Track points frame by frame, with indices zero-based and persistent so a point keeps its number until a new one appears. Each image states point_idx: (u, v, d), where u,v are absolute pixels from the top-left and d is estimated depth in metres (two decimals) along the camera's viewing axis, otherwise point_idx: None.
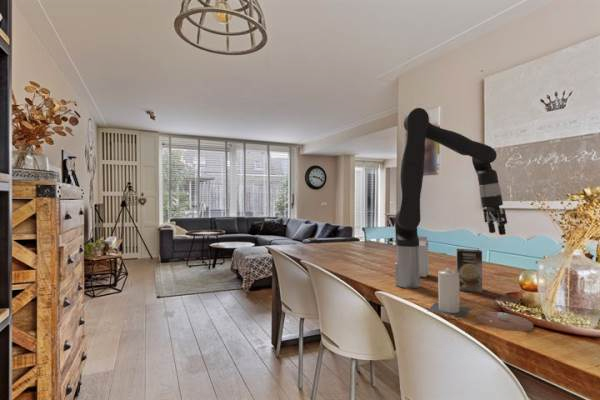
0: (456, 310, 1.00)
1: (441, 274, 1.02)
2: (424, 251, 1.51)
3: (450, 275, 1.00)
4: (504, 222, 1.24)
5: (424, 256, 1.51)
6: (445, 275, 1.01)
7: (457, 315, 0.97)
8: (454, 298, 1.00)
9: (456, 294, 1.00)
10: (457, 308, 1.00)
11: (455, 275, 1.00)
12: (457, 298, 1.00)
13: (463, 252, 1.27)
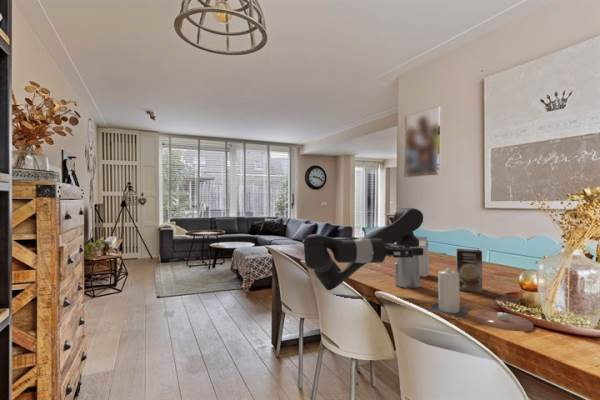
0: (456, 310, 1.00)
1: (441, 274, 1.02)
2: (424, 251, 1.51)
3: (450, 275, 1.00)
4: (411, 252, 0.94)
5: (424, 256, 1.51)
6: (445, 275, 1.01)
7: (457, 315, 0.97)
8: (454, 298, 1.00)
9: (456, 294, 1.00)
10: (457, 308, 1.00)
11: (455, 275, 1.00)
12: (457, 298, 1.00)
13: (463, 252, 1.27)
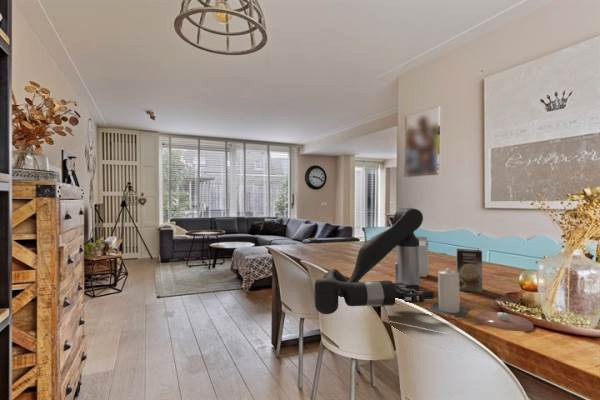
0: (456, 310, 1.00)
1: (441, 274, 1.02)
2: (424, 251, 1.51)
3: (450, 275, 1.00)
4: (422, 297, 0.93)
5: (424, 256, 1.51)
6: (445, 275, 1.01)
7: (457, 315, 0.97)
8: (454, 298, 1.00)
9: (456, 294, 1.00)
10: (457, 308, 1.00)
11: (455, 275, 1.00)
12: (457, 298, 1.00)
13: (463, 252, 1.27)
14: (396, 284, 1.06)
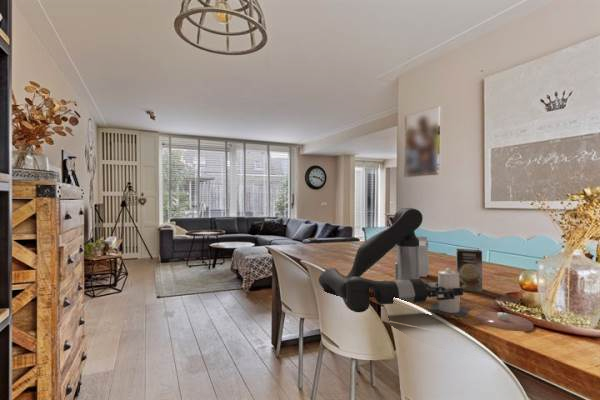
0: (456, 310, 1.00)
1: (441, 274, 1.02)
2: (424, 251, 1.51)
3: (450, 275, 1.00)
4: (453, 293, 0.96)
5: (424, 256, 1.51)
6: (445, 275, 1.01)
7: (457, 315, 0.97)
8: None
9: None
10: (457, 308, 1.00)
11: (455, 275, 1.00)
12: (457, 298, 1.00)
13: (463, 252, 1.27)
14: (426, 282, 1.07)
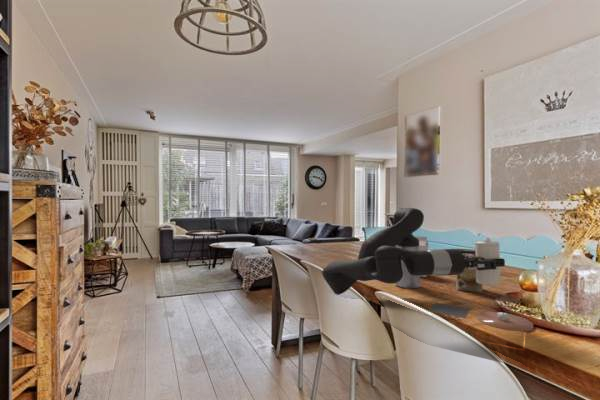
0: (497, 283, 0.91)
1: (479, 244, 0.93)
2: None
3: (490, 244, 0.91)
4: (494, 263, 0.88)
5: None
6: (484, 244, 0.92)
7: (457, 315, 0.97)
8: (494, 269, 0.91)
9: None
10: (498, 280, 0.91)
11: (495, 244, 0.91)
12: (498, 269, 0.91)
13: (463, 252, 1.27)
14: None
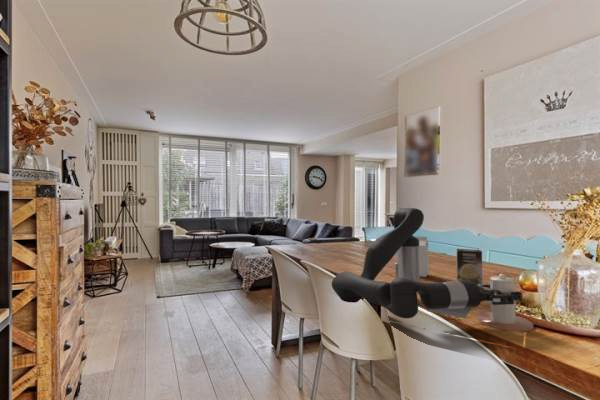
0: (513, 321, 0.89)
1: (495, 280, 0.91)
2: (424, 251, 1.51)
3: (506, 282, 0.89)
4: (512, 298, 0.85)
5: (424, 256, 1.51)
6: (500, 282, 0.90)
7: (457, 315, 0.97)
8: (510, 307, 0.89)
9: None
10: (514, 319, 0.90)
11: (511, 282, 0.90)
12: (514, 307, 0.90)
13: (463, 252, 1.27)
14: None
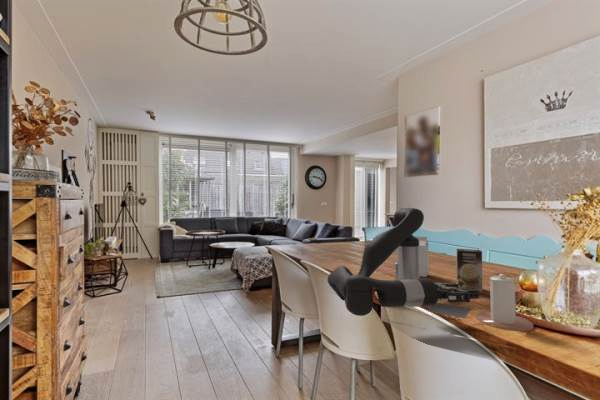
0: (513, 321, 0.89)
1: (495, 280, 0.91)
2: (424, 251, 1.51)
3: (506, 282, 0.89)
4: (468, 296, 0.83)
5: (424, 256, 1.51)
6: (500, 282, 0.90)
7: (457, 315, 0.97)
8: (510, 307, 0.89)
9: (512, 303, 0.90)
10: (514, 319, 0.90)
11: (511, 282, 0.90)
12: (514, 307, 0.90)
13: (463, 252, 1.27)
14: None
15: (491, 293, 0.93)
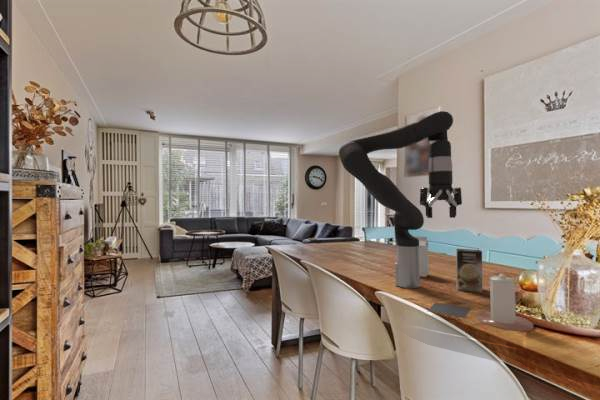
0: (513, 321, 0.89)
1: (495, 280, 0.91)
2: (424, 251, 1.51)
3: (506, 282, 0.89)
4: None
5: (424, 256, 1.51)
6: (500, 282, 0.90)
7: (457, 315, 0.97)
8: (510, 307, 0.89)
9: (512, 303, 0.90)
10: (514, 319, 0.90)
11: (511, 282, 0.90)
12: (514, 307, 0.90)
13: (463, 252, 1.27)
14: None
15: (491, 293, 0.93)
